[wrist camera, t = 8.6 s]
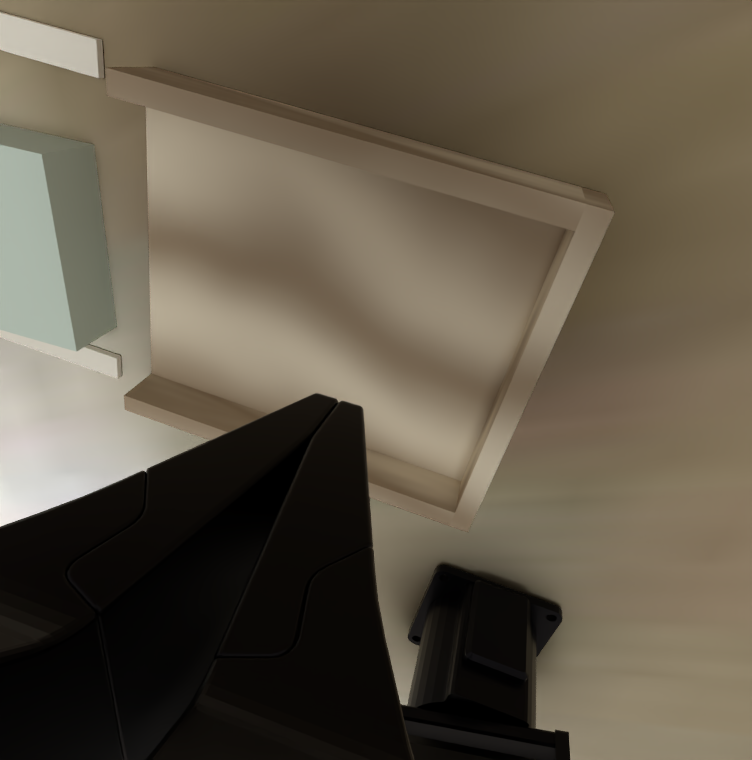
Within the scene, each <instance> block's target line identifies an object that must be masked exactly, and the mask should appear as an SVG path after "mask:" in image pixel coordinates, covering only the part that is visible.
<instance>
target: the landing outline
mask: <svg viewBox="0 0 752 760" xmlns="http://www.w3.org/2000/svg"><path fill="white" fill-rule="evenodd" d="M0 50H2V51H5V52H9V53H12V54H16V55H19V56H23V57H26V58H30V59H33V60H37V61H40V62H44V63H47V64H51V65H54V66H58V67H61V68H65V69H68V70H72V71H75V72H79V73H82V74H86V75H89V76H93V77H96V78H104V63H103V46H102V39H98V38H94V37H91V36H87V35H84V34H80V33H76V32H73V31H69V30H66V29H62V28H58V27H55V26H51V25H48V24H44V23H40V22H37V21H33V20H30V19H26V18H22V17H19V16H15V15H12V14H8V13H4V12H1V11H0ZM0 338H3V339H6V340H9V341H12V342H14V343H17V344H20V345H23V346H26V347H29V348H31V349H34V350H37V351H40V352H43V353H46V354H49V355H51V356H54V357H57V358H60V359H63V360H66V361H68V362H71V363H74V364H77V365H80V366H83V367H85V368H88V369H91V370H94V371H97V372H100V373H102V374H105V375H108V376H111V377H114V378H117V379H118V378H120V377H121V376H122V370H121V356H120V355H117V354H114V353H111V352H109V351H106V350H103V349H100V348H97V347H94V346H91V345H87V346H85V347H83V348H82V349H80V350H79V351H77V352H76V351H72V350H69V349H66V348H62V347H59V346H55V345H52V344H48V343H45V342H41V341H38V340H34V339H31V338H27V337H24V336H20V335H17V334H13V333H10V332H6V331H3V330H0Z"/></svg>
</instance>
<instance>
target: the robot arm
mask: <svg viewBox="0 0 752 760" xmlns="http://www.w3.org/2000/svg"><path fill="white" fill-rule="evenodd" d="M372 548H373V541H372V526H371V512H370V497H369V482H368V468H367V453H366V439H365V424H364V410H363V408H362V407H361V406H359V405H356V404H353V403H349V402H346V401H340V402H338V400H337V399H336V398H333V397H329V396H326V395H323V394H319V393H315V394H312V395H310V396H307V397H305V398H303V399H301V400H299V401H296V402H294V403H292V404H290V405H287V406H285V407H283V408H281V409H279V410H276V411H274V412H272V413H270V414H267V415H265V416H263V417H261V418H259V419H256V420H254V421H252V422H250V423H247V424H245V425H243V426H241V427H239V428H236V429H234V430H232V431H230V432H228V433H225V434H223V435H221V436H219V437H216V438H214V439H212V440H210V441H208V442H205V443H203V444H201V445H199V446H196V447H194V448H192V449H190V450H188V451H185V452H183V453H181V454H179V455H176V456H174V457H172V458H170V459H168V460H165V461H163V462H161V463H159V464H156V465H154V466H152V467H150V468H148V469H147V471H146V472H145V471H140V472H138V473H136V474H134V475H132V476H129V477H127V478H125V479H123V480H120V481H118V482H116V483H113V484H111V485H109V486H106V487H104V488H102V489H99V490H97V491H95V492H92V493H90V494H87V495H85V496H83V497H80V498H77V499H75V500H72V501H69V502H67V503H64V504H61V505H59V506H56V507H54V508H51V509H48V510H46V511H43V512H40V513H37V514H35V515H32V516H29V517H26V518H23V519H21V520H18V521H15V522H12V523H9V524H7V525H4V526H1V527H0V760H570V748H569V732H565V731H559V730H555V732H551V731H545V730H540V729H536V657H537V656H538V655H539V653H540V652H541V650H542V649H543V647H544V646H545V645H546V643H547V642H548V640H549V639H550V637H551V636H552V635H553V633H554V632H555V630H556V629H557V627H558V626H559V625H560V623H561V622H562V610H561V609H560V608H559V607H558V606H556V605H553V604H551V603H548V602H545V601H543V600H540V599H537V598H534V597H532V596H529V595H526V594H523V593H521V592H518V591H515V590H513V589H510V588H507V587H504V586H502V585H499V584H496V583H494V582H491V581H488V580H485V579H483V578H480V577H477V576H474V575H472V574H469V573H466V572H464V571H461V570H458V569H455V568H453V567H450V566H447V565H440V566H438V567H437V568H436V569H435V572H434V574H433V576H432V579H431V581H430V583H429V586H428V588H427V590H426V593H425V595H424V597H423V599H422V602H421V604H420V606H419V609H418V611H417V613H416V616H415V618H414V620H413V622H412V625H411V627H410V629H409V634H408V639H409V640H410V641H411V642H412V643H414V644H417V645H419V646H420V647H419V652H418V656H417V661H416V666H415V671H414V675H413V680H412V685H411V690H410V694H409V699H408V704H407V706H406V705H401V704H400V700H399V696H398V691H397V687H396V683H395V678H394V674H393V670H392V665H391V661H390V656H389V652H388V648H387V643H386V639H385V634H384V629H383V623H382V618H381V613H380V607H379V602H378V594H377V585H376V576H375V565H374V551H373V549H372Z"/></svg>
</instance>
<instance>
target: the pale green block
mask: <svg viewBox="0 0 752 760" xmlns="http://www.w3.org/2000/svg"><path fill="white" fill-rule="evenodd" d="M115 327H117V323H116V315H115V307H114V299H113V291H112V283H111V275H110V267H109V259H108V251H107V243H106V236H105V228H104V220H103V212H102V204H101V196H100V188H99V180H98V172H97V164H96V156H95V148H94V144H90V143H85V142H81V141H76V140H72V139H67V138H63V137H59V136H54V135H50V134H45V133H41V132H36V131H32V130H27V129H23V128H19V127H14V126H10V125H5V124H1V123H0V330H3V331H6V332H10V333H13V334H17V335H20V336H24V337H27V338H31V339H34V340H38V341H41V342H45V343H48V344H52V345H55V346H59V347H62V348H66V349H69V350H72V351H76V352H77V351H79V350H80V349H82V348H83V347H85V346H87V345H88V344H90V343H91V342H93V341H95V340H96V339H98V338H99V337H101V336H103V335H104V334H106V333H107V332H109V331H111V330H112V329H114V328H115Z"/></svg>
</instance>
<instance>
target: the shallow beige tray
mask: <svg viewBox="0 0 752 760" xmlns="http://www.w3.org/2000/svg"><path fill="white" fill-rule="evenodd" d="M105 69H106V87H107V96H110V97H113V98H116V99H120V100H123V101H127V102H130V103H134V104H137V105H141V106H144V107H146V138H147V184H148V230H149V276H150V322H151V368H152V374H151V375H149V376H148V377H147V378H145V379H144V380H143V381H142V382H140V383H139V384H138V385H137V386H135V387H134V388H133V389H132V390H130V391H129V392H128V393H127V394H125V395H124V402H125V410H127V411H130V412H133V413H136V414H138V415H141V416H144V417H147V418H150V419H152V420H155V421H158V422H161V423H164V424H166V425H169V426H172V427H175V428H178V429H180V430H183V431H186V432H189V433H191V434H194V435H197V436H200V437H203V438H205V439H208V440H212V439H214V438H216V437H219V436H221V435H223V434H225V433H228V432H230V431H232V430H234V429H236V428H239V427H241V426H243V425H245V424H247V423H250V422H252V421H254V420H256V419H259V418H261V417H263V416H265V415H267V414H270V413H272V412H274V411H276V410H279V409H281V408H283V407H285V406H287V405H290V404H292V403H294V402H296V401H299V400H301V399H303V398H305V397H307V396H310V395H312V394H315V393H319V394H323V395H326V396H329V397H333V398H336V399H337V400H338V402H340V401H346V402H349V403H353V404H356V405H359V406H361V407H362V408H363V410H364V424H365V439H366V453H367V468H368V482H369V497H370V498H373V499H376V500H378V501H381V502H384V503H387V504H390V505H392V506H395V507H398V508H401V509H404V510H406V511H409V512H412V513H415V514H417V515H420V516H423V517H426V518H429V519H431V520H434V521H437V522H440V523H443V524H445V525H448V526H451V527H454V528H457V529H459V530H462V531H465V532H468V531H469V529H470V527H471V525H472V522H473V520H474V518H475V516H476V514H477V512H478V509H479V507H480V505H481V503H482V501H483V498H484V496H485V494H486V492H487V490H488V488H489V485H490V483H491V481H492V479H493V477H494V474H495V472H496V470H497V468H498V466H499V464H500V461H501V459H502V457H503V455H504V453H505V451H506V448H507V446H508V444H509V442H510V440H511V437H512V435H513V433H514V431H515V429H516V427H517V424H518V422H519V420H520V418H521V416H522V414H523V411H524V409H525V407H526V405H527V403H528V400H529V398H530V396H531V394H532V392H533V390H534V387H535V385H536V383H537V381H538V379H539V377H540V374H541V372H542V370H543V368H544V366H545V363H546V361H547V359H548V357H549V355H550V353H551V350H552V348H553V346H554V344H555V342H556V340H557V337H558V335H559V333H560V331H561V329H562V326H563V324H564V322H565V320H566V318H567V316H568V313H569V311H570V309H571V307H572V305H573V302H574V300H575V298H576V296H577V294H578V292H579V289H580V287H581V285H582V283H583V281H584V279H585V276H586V274H587V272H588V270H589V268H590V265H591V263H592V261H593V259H594V257H595V255H596V252H597V250H598V248H599V246H600V244H601V242H602V239H603V237H604V235H605V233H606V231H607V228H608V226H609V224H610V222H611V220H612V218H613V215H614V213H615V211H614V209H613V207H612V205H611V203H610V201H609V199H608V197H607V195H606V194H605V193H601V192H598V191H594V190H590V189H587V188H583V187H580V186H576V185H573V184H569V183H565V182H562V181H558V180H555V179H551V178H548V177H544V176H541V175H537V174H533V173H530V172H526V171H523V170H519V169H516V168H512V167H508V166H505V165H501V164H498V163H494V162H491V161H487V160H484V159H480V158H476V157H473V156H469V155H466V154H462V153H459V152H455V151H451V150H448V149H444V148H441V147H437V146H434V145H430V144H426V143H423V142H419V141H416V140H412V139H409V138H405V137H402V136H398V135H394V134H391V133H387V132H384V131H380V130H377V129H373V128H369V127H366V126H362V125H359V124H355V123H352V122H348V121H345V120H341V119H337V118H334V117H330V116H327V115H323V114H320V113H316V112H312V111H309V110H305V109H302V108H298V107H295V106H291V105H287V104H284V103H280V102H277V101H273V100H270V99H266V98H263V97H259V96H255V95H252V94H248V93H245V92H241V91H238V90H234V89H230V88H227V87H223V86H220V85H216V84H213V83H209V82H205V81H202V80H198V79H195V78H191V77H188V76H184V75H181V74H177V73H173V72H170V71H166V70H163V69H159V68H156V67H105Z"/></svg>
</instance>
